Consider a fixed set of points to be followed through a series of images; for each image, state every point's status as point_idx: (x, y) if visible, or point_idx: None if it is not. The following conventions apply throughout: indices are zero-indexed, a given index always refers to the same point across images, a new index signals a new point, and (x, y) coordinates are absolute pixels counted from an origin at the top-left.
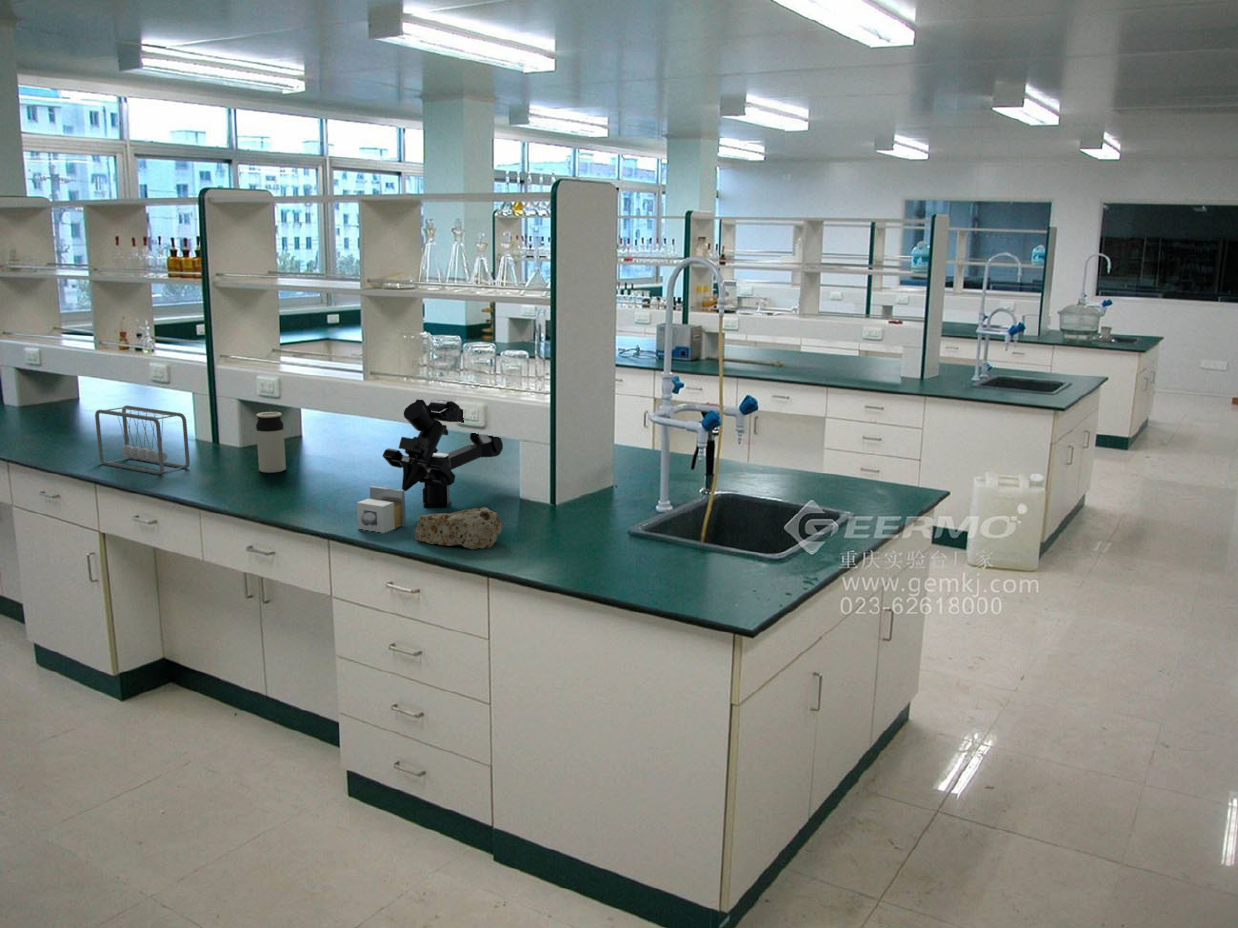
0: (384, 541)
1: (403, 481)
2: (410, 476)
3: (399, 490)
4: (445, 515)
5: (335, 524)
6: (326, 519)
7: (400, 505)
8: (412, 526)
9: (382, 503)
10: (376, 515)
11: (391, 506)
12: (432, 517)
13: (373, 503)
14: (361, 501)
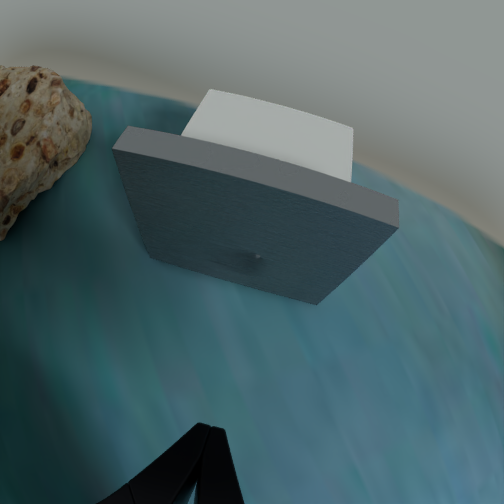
0: (180, 115)
1: (225, 474)
2: (140, 501)
3: (147, 140)
4: (1, 66)
5: (411, 242)
6: (460, 289)
7: None
8: (124, 265)
9: (230, 119)
10: None
11: None
12: (31, 68)
13: (273, 117)
14: (346, 142)
